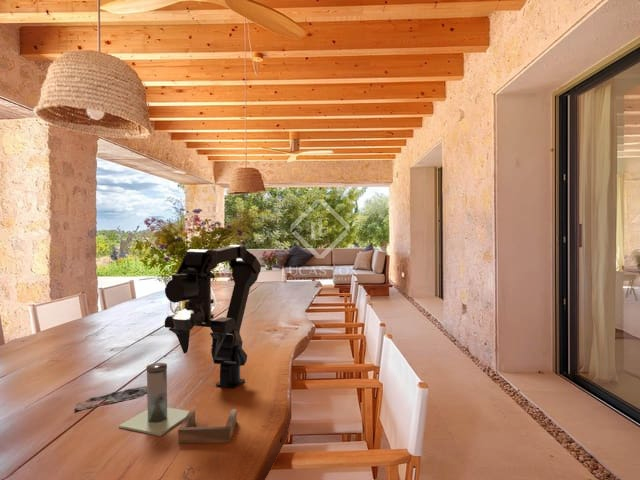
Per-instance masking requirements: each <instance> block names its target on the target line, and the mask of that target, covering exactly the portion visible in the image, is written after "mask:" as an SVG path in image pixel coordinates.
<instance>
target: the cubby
mask: <svg viewBox="0 0 640 480" xmlns="http://www.w3.org/2000/svg"><path fill="white" fill-rule="evenodd" d="M237 410H238V409H236V408H235V409H234V408H233V409H231V410H230V414H229V415H228V418H227V420H226V423H225V425H224V426H195V423H196V409H190V410H188V411H189V413H188V414H187V416H186V418H185V419H184V420H183V421H182V422H181V423H180V426H179V428H178V429H177V437H178V439H177V440H178V441H177V443H178V444H211V443H214V444H215V443H217V444H218V443H219V444H220V443H221V444H222V443H231V441H232V436H233V434H234V431H235V428H236V424H237V421H238V420H237V419H238V417H237V416H238V415H237V413H238V412H237Z"/></svg>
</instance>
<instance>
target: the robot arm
mask: <svg viewBox="0 0 640 480" xmlns="http://www.w3.org/2000/svg"><path fill="white" fill-rule="evenodd" d="M185 253H186V254H184V256H183V258H182V261H181V263H180V266H179V267H178V269H177V272H176V274H174V273H173V274H172V275H171V279H170V280H169V281H168V282H167V283H166V286H165V288H164V294H165V297H166V299H167V300H168V301H170V302H171V303H173V304H174V303H181V302H184V301H185V302H184V308H183V309H181V310H179V312H177V313H174V314H171V315H168V316H166V317H165V319H164V327H165V328H167V329H168V331H171V332H172V333H173V334H175V336H176V337H177V340H178V342H179V346H180V347H181V349H182V352H183V354H187V353H188V351H189V345H190V335H191V330H192V329H193V328H194V327H203V328H210V330H211V331H212V332H209V335H210V337H211V338H212V341H211V342H212V343H211V348H210V353H211V357H212V360H213V364H214V365H220V366H219V381H218V382H216V383H215V386H217V387H224V388H231V389H235V388H237V387H238V386H240V385H241V384H242V383H244V382H246V379H245V378H241V367H243V366H245V365H246V363H247V362H248V361H247V360H248V355H247V352H245V350H244V349H243V342H244V341H243V338H242V336H241V333H240V332H241V327H242V324H243V319H244V315H245V310H246V306H247V302H248V297H249V293H250V289H251V287H252V286H253V285H254V284H255V283H256V282H257V281H258V278H259V275H260V273H261V269H262V267H261V263H260V261H259V260H258V259H257V256H256V255H254V254H253V253H251V252H250V251H249V250H247V248H246V246H245V245H242V244H230V245H227V246H224V247H218V248H214V249H193V248H191V249H188V250H186V252H185ZM225 262H228V265H229V267H230V269H231V270H232V271H231V277H232V279H233V282H234V285H233V289H232V293H231V296H230V301H229V305H228V308H227V312H226V316H225V317H224V316H222V317H219V318H216V319H214V316H215V315H214V314H212V312H211V311H212V309H211V308H212V307H211V306H212V304H214V302H215V301H214V298H213V299H212V289H211V287H212V281H211V280H212V279H215V278H216V275H215V274H214V273H213V272H212V271H213V270H214V269H216V268H217V267H218V265H219V264H223V263H225Z"/></svg>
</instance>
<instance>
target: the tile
mask: <svg viewBox="0 0 640 480" xmlns="http://www.w3.org/2000/svg"><path fill="white" fill-rule="evenodd" d="M189 411H190V410H185V409H178V408H173V407H169V406H167V419H166V420H164V421H162V422H157V423H151V422H149V421H148V408H146V409H145V410H143V411H142V412H140V413H139V414H136V415H134V416H133V417H131V418H129V419H127V421H124V422H123V423H120V424H119V425H118V427H119V428H120V429H124V430H129V431H132V432H133V431H134V432H140V433H142V434H144V433H145V434H148V435H149V434H150V435H153V436H158V437H162V436H163V435H165V434H166V433H167V432H168V431H170V430H171V429H173V428H174V427H176V426H178V425H179V424H181V423H183V421H184V419H185V418H186V416H187V414H188V413H189Z"/></svg>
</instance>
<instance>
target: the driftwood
mask: <svg viewBox="0 0 640 480" xmlns="http://www.w3.org/2000/svg"><path fill="white" fill-rule="evenodd" d="M145 395H147V385H143V386H139V387H134V388H132V387H131V388H128V389H124V390H123V391H121V390H120V391H113V392H111V393H106V394H105V395H100V396H94V397H93V396H92V397H90V398H88V399H87V400H86V401H84V403H89V402H91V403H92V402H99V401H104V402H102V403H101V404H90V405H87V406H85V405H84V404H83V403H82V402H79V403H76V404H75V405H76V407H74V410H76V411H81V410H86V409H91V408H96V407H100V406H104V405H107V404H112V403H117V402H121V401H123V402H124V401H127V400H131V399H136V398H141V397H145ZM105 400H107V401H105ZM78 406H80V407H78Z"/></svg>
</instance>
